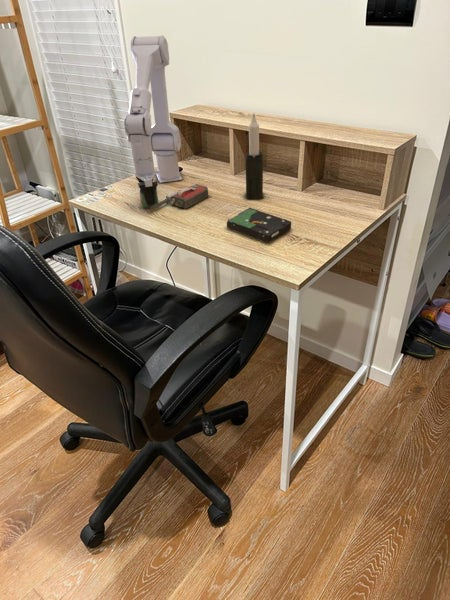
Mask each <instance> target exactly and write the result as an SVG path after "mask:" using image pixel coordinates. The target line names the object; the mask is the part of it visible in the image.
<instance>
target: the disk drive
mask: <svg viewBox="0 0 450 600" xmlns="http://www.w3.org/2000/svg"><path fill="white" fill-rule="evenodd" d="M226 228H227V229H229V230H231V231H234V232H237V233H239V234H242V235H245V236H247V237H249V238H252V239H255V240H258V241H260V242H263V243H267V244H269V243H271V242H273V241H274V240H276V239H278V238H280V237H281V236H283V235H285V234H286V233H288V232H289V231H290V230H292V221H291V220H288V219H286V218H282V217H279V216H276V215H273V214H270V213H266V212H264V211H261V210H258V209H255V208H252V207H248V208H247V209H245V210H243V211H240V212H239V213H237V214H236V215H234V216H233V217H231V218H227V221H226Z"/></svg>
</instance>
